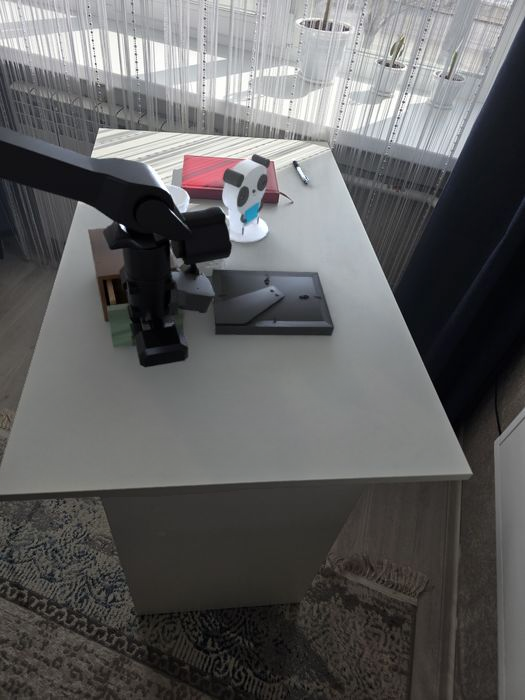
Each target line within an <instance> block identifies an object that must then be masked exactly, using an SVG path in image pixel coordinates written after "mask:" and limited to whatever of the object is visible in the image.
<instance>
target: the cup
mask: <svg viewBox="0 0 525 700" xmlns="http://www.w3.org/2000/svg"><path fill="white" fill-rule="evenodd" d="M163 184H164V185H165V187H166V188H167V190H168V191H169V193H170V195H171V196H172V199H173V201H174V203H175V205H176V206H177V208H178V209H179V211H180V213H183V212H188V207H189V204H190V198H191V197H190V195H189V194H188V192H187V190H185V189H184V188H182V187H181V186H177V185H173V184H168V183H163ZM170 244H171V242H170Z"/></svg>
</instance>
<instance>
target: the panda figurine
mask: <svg viewBox="0 0 525 700" xmlns="http://www.w3.org/2000/svg"><path fill="white" fill-rule="evenodd" d="M270 165H271V160H270V159H269V158H267V157H264V156H262V155H260V154H256V153H253V154H252V156H251V158H250V159H247V158H246V159H243V160H241V161H239V162H238V163H236V164H235V165H234V166H233V167H232V168H226V169H225V170H224V171H223V174H222V181H223V182H224V184H223V188H222V202H223V204H224V206H225V207H226V208H228V214H226V217H227V218H228V219H229V220H230V222H231V227H230V235H229V237H230V241H231V242H232V241H233V242H237V243H243V244H244V243H246V244H247V243H255V242H259V241H261V240H263V239H264V238H266V237H267V235H268V232H269V228H268V225H267V223H266V222H265V221H264V220H263V219H262V218H260V212H261V211H262V209H263V207H264V204H265V203H264V199H263V197H264V195H265V192H266V189H267V186H268V178H269V177H268V168H269V167H270Z"/></svg>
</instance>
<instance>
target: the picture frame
mask: <svg viewBox="0 0 525 700" xmlns="http://www.w3.org/2000/svg"><path fill="white" fill-rule="evenodd" d="M211 279H212V288H213V291H214V293H215V296H214V298H213V300H212V302H213V320H214V324H213V325H214V335H216V336H317V337H318V336H321V337H322V336H323V337H324V336H333V333H334V329H335V325H334V322H333V319H332V315H331V312H330V309H329V306H328V303H327V299H326V295H325V293H324V289H323V286H322V283H321V278H320V275H319V272H318V271H317V272H316V271H281V270H279V271H278V270H274V271H273V270H249V269H248V270H247V269H246V270H245V269H224V270H213V276H211Z"/></svg>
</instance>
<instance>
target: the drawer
mask: <svg viewBox="0 0 525 700" xmlns="http://www.w3.org/2000/svg"><path fill="white" fill-rule="evenodd" d="M105 281H106V287H107V293H108V298H109V303H110V306H107V312H108V318H109V321H108V323H109V328H110V334H111V335H110V336H111V342H112V346H113V348H119V347H127V346H132V347H136V344H135V338H134V335H133V330H132V326H131V325H133V323H132V321H131V320H130V317H129V313H128V309H127V306H128V305H129V302H128V297H127V291H123V288H122V284H121V279H120V278H115V279H107V280H105ZM127 290H128V289H127ZM172 317H173V319H175V322H176V325H177V327H179V328H181V329H182V330H183V333H184V334H185V310H182V309H179V308H178V315H173V316H172Z"/></svg>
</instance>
